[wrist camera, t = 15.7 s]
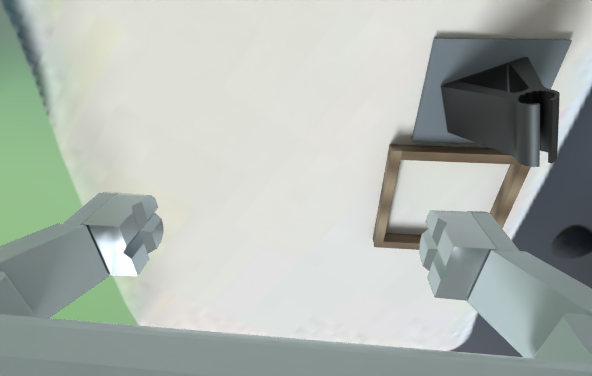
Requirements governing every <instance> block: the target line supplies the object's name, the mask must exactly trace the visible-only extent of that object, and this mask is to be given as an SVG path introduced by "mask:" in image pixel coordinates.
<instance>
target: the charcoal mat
mask: <svg viewBox="0 0 592 376" xmlns="http://www.w3.org/2000/svg"><path fill="white" fill-rule="evenodd" d="M571 42H572V41H571V40H536V39H460V38H434V40H433V45H432V49H431V54H430V58H429V63H428V67H427V72H426V77H425V81H424V86H423V90H422V95H421V99H420V104H419V109H418V113H417V118H416V122H415V127H414V131H413V136H412V141H413V142H441V143H469V144H478V143H476V142H473V141H470V140H467V139H465V138H462V137H459V136H456V135H453V134H451V133H448V132H447V126H446V119H445V112H444V106H443V99H442V92H441V85H444V84H446V83H449V82H452V81H455V80H458V79H461V78H464V77H467V76H470V75H473V74H476V73H479V72H483V71H485V70H488V69H490V68H493V67H496V66H499V65H502V64H505V63H508V62H511V61H514V60H517V59H520V58H523V57H528V58H529V60H530V62H531V64H532V66H533V67H534V69H535V71H536V73H537V75H538V77H539V79H540V81H541V83H542V85H543V86H544V87H546V88H548V89H551V87H552V85H553V83H554V80H555V78H556V76H557V74H558V71H559V69H560V67H561V64H562V62H563V60H564V58H565V55H566V53H567V51H568V48H569V46H570V44H571Z"/></svg>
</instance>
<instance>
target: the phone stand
mask: <svg viewBox="0 0 592 376" xmlns="http://www.w3.org/2000/svg"><path fill="white" fill-rule="evenodd" d="M441 92H442V99H443V106H444V112H445V119H446V126H447V132H448V133H451V134H453V135H456V136H459V137H462V138H465V139H467V140H470V141H473V142H476V143H478V144H481V145H484V146H487V147H490V148H492V149H495V150H498V151H501V152H504V153H506V154H509V155H511V156H512V157H514V158H515V159H516V161H517V162H518V163H519V164H521V165H524V166H530V167H539V158H540V151H545V152H548V162H549V163H553V162H554V161H556V159H557V146H558V120H559V95H560V94H559V92H557V91H555V90H551V89H548V88H546V87H544V86H543V85H542V83H541V81H540V79H539V77H538V75H537V73H536V71H535V69H534V67H533V66H532V64H531V62H530V60H529V58H528V57H523V58H520V59H517V60H514V61H511V62H508V63H505V64H502V65H499V66H496V67H493V68H490V69H488V70H485V71H483V72H479V73H476V74H473V75H470V76H467V77H464V78H461V79H458V80H455V81H452V82H449V83H446V84H444V85H441Z"/></svg>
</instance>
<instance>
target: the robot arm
mask: <svg viewBox="0 0 592 376" xmlns="http://www.w3.org/2000/svg"><path fill="white" fill-rule="evenodd" d="M157 208H158V205H157V202H156V199H155V198H154V197H153V196H151V195H140V194H127V193H111V192H103V193H99V194H98V195H96V196H95V197H94V198H93V199H92V200H90V201H89V202H88V203H87V204H86V205H84V206H83V207H82V208H81V209H80V210H79V211H77V212H76V213H75V214H74V215H73V216H71V217H70V218H69V219H68V220H67V221H66V222H64V223H63V224H56V225H53V226H50V227H48V228H46V229H43V230H40V231H37V232H35V233H32V234H30V235H27V236H25V237H22V238H20V239H17V240H15V241H12V242H10V243H7V244H5V245H2V246H0V376H592V289H591V288H589V287H587V286H586V285H584V284H582V283H580V282H579V281H577V280H575V279H573V278H571V277H570V276H568V275H566V274H564V273H563V272H561V271H559V270H557V269H555V268H554V267H552V266H550V265H548V264H547V263H545V262H543V261H541V260H540V259H538V258H536V257H534V256H533V255H531V254H529V253H527V252H522V251H519V250H518V249H517V247H516V246H515V245H514V243H513V242H512V241H511V240H510V238H509V237H508V236H507V234H506V233H505V232H504V231H503V229H502V228H501V227H500V225H499V224H498V223H497V221H496V220H495V219H494V218H493V216H492V215H491V214H490V213H488V212H472V211H467V212H460V211H434V210H430V212H429V214H428V215H427V219H426V224H427V226H428V230H426V231H425V232H424V233H423V234H422V236H421V240H420V258H421V262H422V264H423V266H424V267H425V268H426V269H427V270H429V275H428V281H429V284H430V286H431V289H432V292H433V294H434V297H436V298H446V299H456V300H467V302H468V303H469V304H470V305H471V306H472V307H473V308H474V309H475V310H476V311H477V312H478V313H479V314H480V315H481V316H482V317H483V318H484V319H485V320H486V321H487V322H488V323H489V324H490V325H491V326H492V327H493V328H494V329H496V331H498V332H499V333H500V334H501V335H502V336H503V337H504V338H505V339H506V340H507V341H508V342H509V343H510V344H511V345H512V346H513V347H514V348H515V349H516V350H517V351H518V352H519V353H520V354H521V355H522V356H523V357H524V358H523V357H511V356H499V355H486V354H474V353H463V352H451V351H439V350H427V349H415V348H403V347H391V346H379V345H367V344H354V343H342V342H330V341H318V340H306V339H294V338H282V337H270V336H258V335H246V334H234V333H222V332H210V331H198V330H186V329H173V328H161V327H149V326H137V325H125V324H113V323H101V322H89V321H77V320H65V319H52V318H50V317H51V316H53V315H54V314H56V313H57V312H59V311H60V310H62V309H63V308H64V307H66V306H67V305H69V304H70V303H72V302H73V301H75V300H76V299H77V298H79V297H80V296H82V295H83V294H84V293H86V292H87V291H89V290H90V289H92V288H93V287H95V286H96V285H98V284H99V283H100V282H102V281H103V280H105V279H106V278H108V277H109V275H122V276H138V275H139V274H140V272H141V271H142V269H143V268H144V266H145V265H146V263H147V262H148V261H149V256H148V253H150V252H152V251H153V250H155V249H157V247H158V246H159V244H160V243H161V240H162V236H163V223H162V219H161V218H160V217H159V216H158V215H157V214H156V213H155V212H156V210H157Z"/></svg>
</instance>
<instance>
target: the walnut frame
mask: <svg viewBox="0 0 592 376" xmlns="http://www.w3.org/2000/svg"><path fill="white" fill-rule="evenodd" d="M400 160H419V161H444V162H470V163H495V164H511V165H510V167H509V169H508V172H507V174H506V176H505V179H504V181H503V184H502V186H501V188H500V191H499V193H498V195H497V198H496V200H495V203H494V205H493V207H492V210H491V212H490V214H491V215H492V216H493V218H494V219H495V220H496V221H497V223H498V224H499V225H500V227H501V228H503V226H504V224H505V222H506V219H507V217H508V215H509V213H510V211H511V209H512V206H513V204H514V202H515V200H516V198H517V196H518V194H519V191H520V189H521V187H522V185H523V183H524V181H525V178H526V176H527V174H528V172H529V170H530V168H531V167H530V166H524V165H521V164H519V163H518V162H517V161H516V159H515V158H514V157H512V156H511V155H509V154H506V153H504V152H501V151H498V150H495V149H492V148H470V147H443V146H415V145H390V146H389V151H388V157H387V162H386V168H385V173H384V179H383V185H382V190H381V196H380V201H379V207H378V212H377V218H376V223H375V229H374V235H373V242H374V247H382V248H399V249H416V250H420V240H421V236H422V235H405V234H387V233H385V232H386V227H387V222H388V217H389V213H390V208H391V203H392V198H393V193H394V188H395V183H396V179H397V174H398V169H399V164H400Z"/></svg>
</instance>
